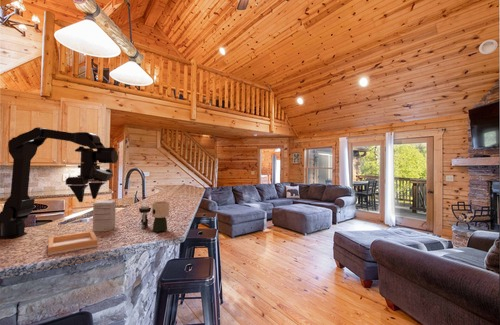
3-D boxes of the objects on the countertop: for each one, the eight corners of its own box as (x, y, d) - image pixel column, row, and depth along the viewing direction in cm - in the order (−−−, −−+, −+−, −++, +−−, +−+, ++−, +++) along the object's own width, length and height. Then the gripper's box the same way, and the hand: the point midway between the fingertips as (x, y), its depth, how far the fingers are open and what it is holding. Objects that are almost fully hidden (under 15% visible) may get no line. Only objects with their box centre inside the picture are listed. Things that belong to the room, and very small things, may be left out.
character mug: (151, 228, 105) (152, 201, 106) (167, 227, 108) (168, 200, 108) (151, 235, 95) (152, 204, 96) (169, 233, 98) (170, 204, 98)
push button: (149, 229, 104) (150, 207, 105) (136, 229, 103) (137, 208, 103) (150, 225, 111) (151, 205, 111) (139, 226, 109) (139, 205, 109)
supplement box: (97, 227, 106) (98, 200, 106) (115, 226, 108) (116, 200, 108) (91, 231, 98) (92, 203, 99) (110, 230, 101) (111, 202, 101)
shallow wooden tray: (48, 255, 73) (48, 247, 73) (48, 243, 83) (49, 237, 83) (97, 246, 82) (97, 239, 82) (92, 236, 92) (93, 230, 92)
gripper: (96, 163, 85) (95, 204, 85) (119, 163, 104) (118, 197, 103) (65, 162, 84) (63, 204, 84) (94, 163, 102) (93, 197, 102)
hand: (87, 200), depth 93 cm, fingers open, 9 cm apart
